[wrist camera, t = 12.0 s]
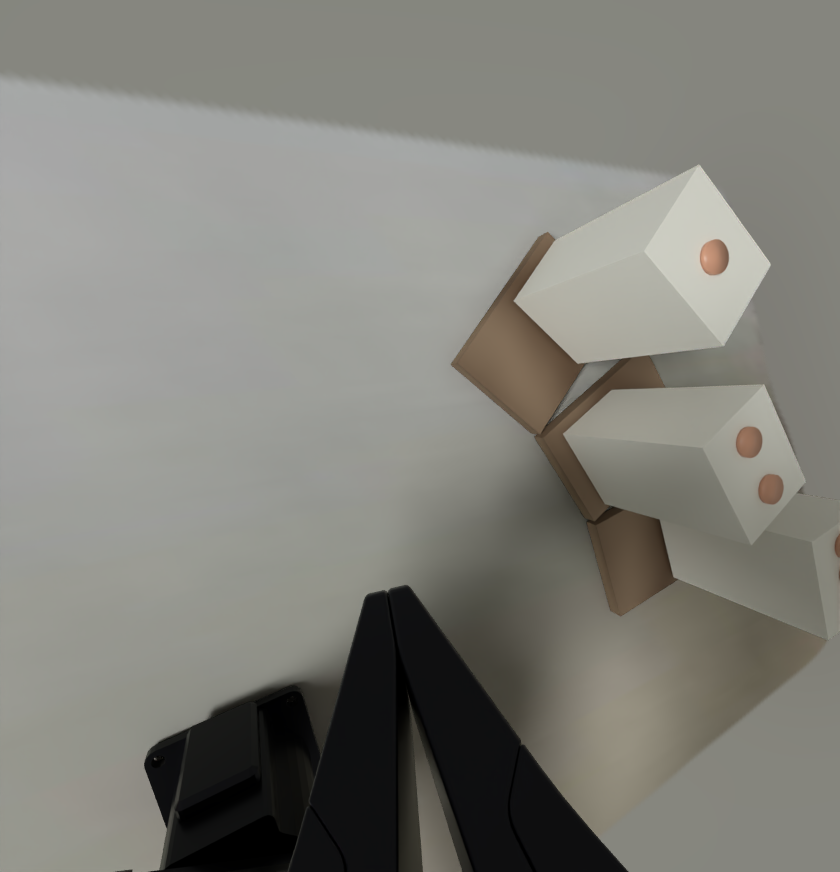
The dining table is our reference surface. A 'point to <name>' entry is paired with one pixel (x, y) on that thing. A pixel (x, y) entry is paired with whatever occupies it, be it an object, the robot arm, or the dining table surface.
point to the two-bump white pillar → (690, 457)
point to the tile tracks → (533, 407)
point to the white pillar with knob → (648, 276)
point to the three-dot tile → (771, 565)
